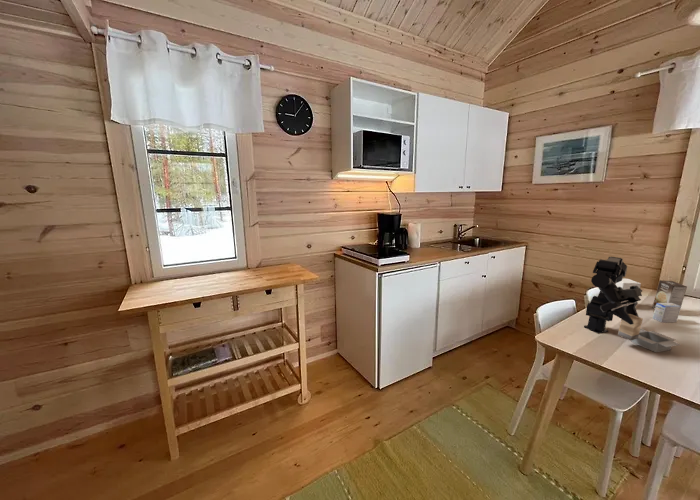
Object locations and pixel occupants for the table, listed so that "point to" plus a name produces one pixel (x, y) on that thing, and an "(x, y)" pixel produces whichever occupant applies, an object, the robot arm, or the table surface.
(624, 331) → the box
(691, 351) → the table surface
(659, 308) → the medicine box
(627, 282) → the supplement box
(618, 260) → the robot arm
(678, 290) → the coffee box
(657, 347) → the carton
